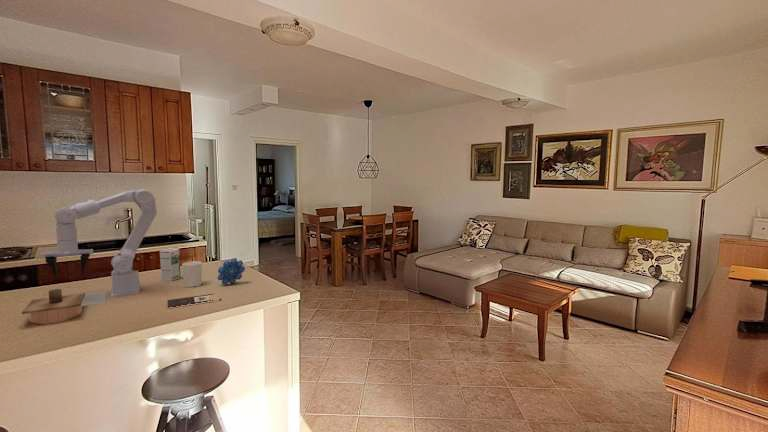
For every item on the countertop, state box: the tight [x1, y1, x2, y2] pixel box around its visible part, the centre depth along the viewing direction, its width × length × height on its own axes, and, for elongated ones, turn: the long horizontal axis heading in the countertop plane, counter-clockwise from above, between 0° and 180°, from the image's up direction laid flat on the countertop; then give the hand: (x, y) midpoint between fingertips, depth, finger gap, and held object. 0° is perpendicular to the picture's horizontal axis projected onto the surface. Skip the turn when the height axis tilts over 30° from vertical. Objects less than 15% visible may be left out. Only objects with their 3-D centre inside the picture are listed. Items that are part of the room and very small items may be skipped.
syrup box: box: [159, 247, 182, 282], centre depth 167 cm, size 6×6×14 cm
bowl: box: [28, 303, 83, 325], centre depth 120 cm, size 13×13×4 cm
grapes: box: [216, 257, 246, 285], centre depth 162 cm, size 12×7×12 cm, turn 122°
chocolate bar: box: [167, 293, 214, 309], centre depth 138 cm, size 9×1×18 cm
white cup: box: [181, 260, 203, 288], centre depth 159 cm, size 8×8×10 cm
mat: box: [82, 290, 108, 307], centre depth 136 cm, size 17×17×1 cm
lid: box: [21, 288, 86, 315], centre depth 120 cm, size 14×14×5 cm
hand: (69, 275), depth 135 cm, fingers open, 7 cm apart
